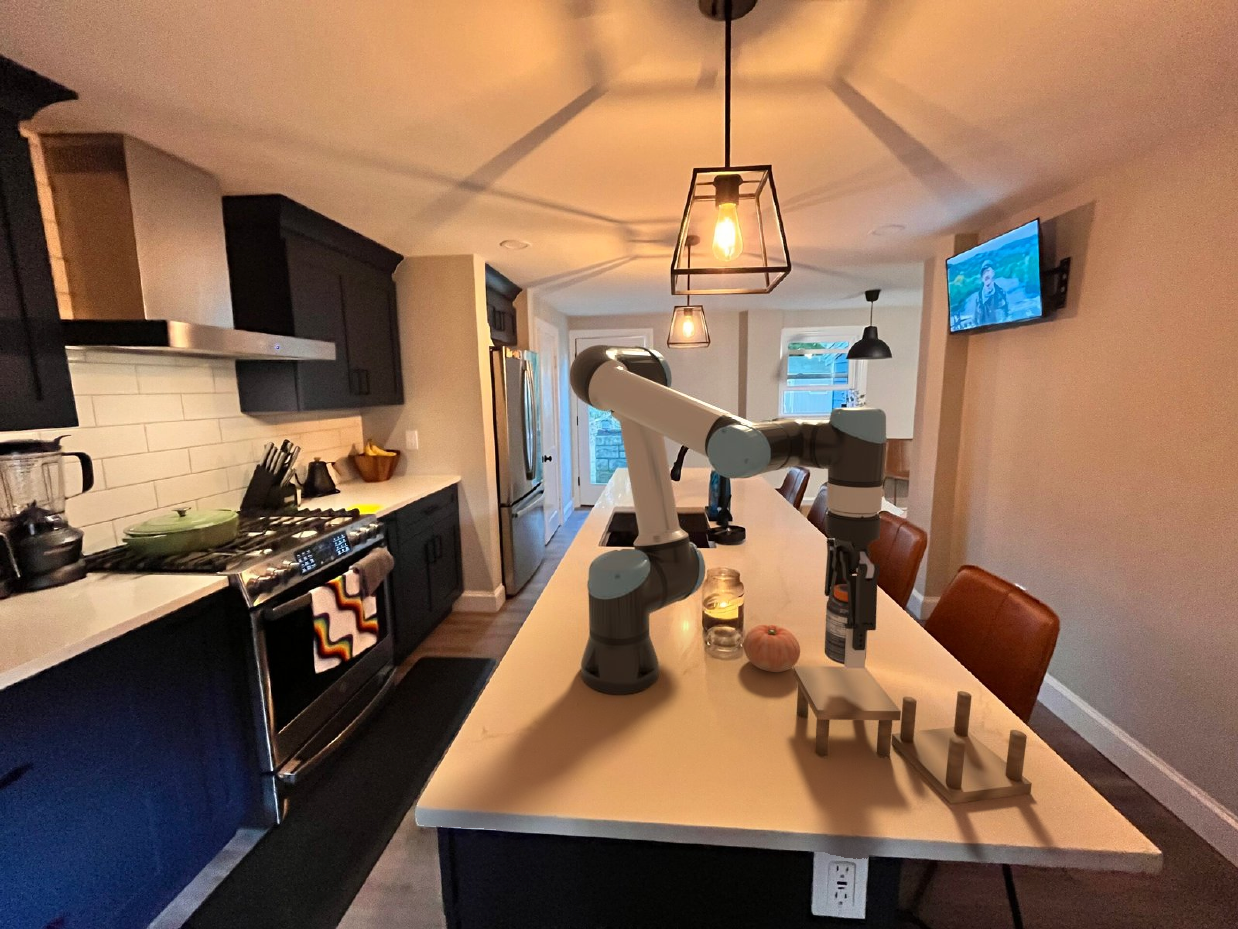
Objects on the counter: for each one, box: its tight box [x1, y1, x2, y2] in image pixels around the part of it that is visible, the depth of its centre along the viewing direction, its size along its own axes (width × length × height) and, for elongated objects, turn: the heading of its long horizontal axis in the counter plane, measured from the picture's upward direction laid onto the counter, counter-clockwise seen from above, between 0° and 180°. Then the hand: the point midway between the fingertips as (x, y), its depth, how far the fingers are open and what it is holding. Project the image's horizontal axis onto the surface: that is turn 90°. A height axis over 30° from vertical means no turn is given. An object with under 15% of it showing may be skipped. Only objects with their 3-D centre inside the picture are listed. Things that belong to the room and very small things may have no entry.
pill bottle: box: [824, 584, 868, 665], centre depth 79 cm, size 6×6×11 cm
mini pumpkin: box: [742, 624, 801, 673], centre depth 102 cm, size 11×11×8 cm
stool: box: [792, 665, 902, 759], centre depth 82 cm, size 12×12×8 cm
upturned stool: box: [891, 690, 1033, 805], centre depth 74 cm, size 12×12×8 cm
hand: (845, 655), depth 80 cm, fingers closed on pill bottle, 6 cm apart
